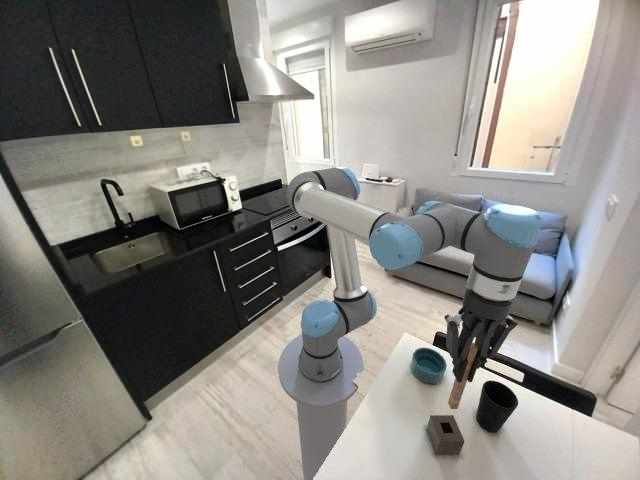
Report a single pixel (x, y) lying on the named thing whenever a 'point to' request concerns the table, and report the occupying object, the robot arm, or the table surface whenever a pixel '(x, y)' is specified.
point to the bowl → (428, 365)
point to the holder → (445, 435)
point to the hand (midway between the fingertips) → (461, 376)
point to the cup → (495, 406)
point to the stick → (459, 386)
